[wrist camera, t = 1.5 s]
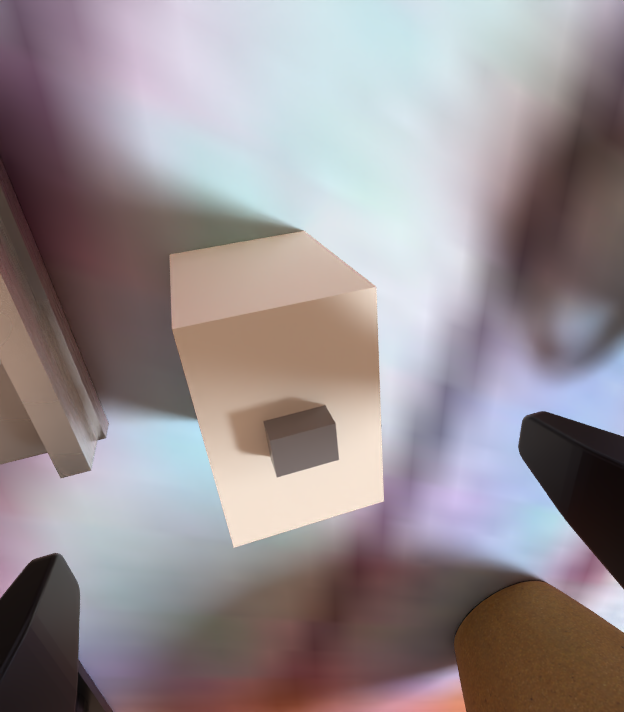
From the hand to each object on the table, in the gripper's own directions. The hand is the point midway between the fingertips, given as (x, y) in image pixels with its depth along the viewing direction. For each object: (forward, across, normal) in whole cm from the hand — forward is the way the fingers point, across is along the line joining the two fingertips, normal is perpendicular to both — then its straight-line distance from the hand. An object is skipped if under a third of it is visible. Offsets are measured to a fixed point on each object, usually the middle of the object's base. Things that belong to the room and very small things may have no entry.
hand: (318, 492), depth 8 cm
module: (+7, 0, 0) cm, 7 cm away
